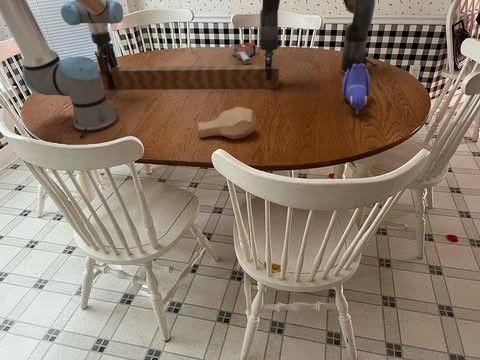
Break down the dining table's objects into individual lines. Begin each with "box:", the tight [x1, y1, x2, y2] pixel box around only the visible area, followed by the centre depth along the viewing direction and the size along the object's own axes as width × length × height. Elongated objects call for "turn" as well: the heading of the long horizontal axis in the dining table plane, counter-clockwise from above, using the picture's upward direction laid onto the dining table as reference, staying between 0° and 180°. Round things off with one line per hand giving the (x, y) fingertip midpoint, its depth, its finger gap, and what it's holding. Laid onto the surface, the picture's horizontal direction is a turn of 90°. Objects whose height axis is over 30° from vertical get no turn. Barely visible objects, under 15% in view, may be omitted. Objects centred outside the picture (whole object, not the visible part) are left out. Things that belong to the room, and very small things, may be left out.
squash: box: [197, 106, 257, 140], centre depth 118 cm, size 11×20×9 cm, turn 92°
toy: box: [341, 63, 371, 116], centre depth 129 cm, size 10×17×25 cm
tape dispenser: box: [230, 41, 256, 65], centre depth 185 cm, size 18×5×20 cm
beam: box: [98, 64, 280, 90], centre depth 156 cm, size 79×5×8 cm, turn 83°
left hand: (114, 85), depth 162 cm, fingers closed on beam, 5 cm apart
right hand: (269, 77), depth 152 cm, fingers closed on beam, 5 cm apart
